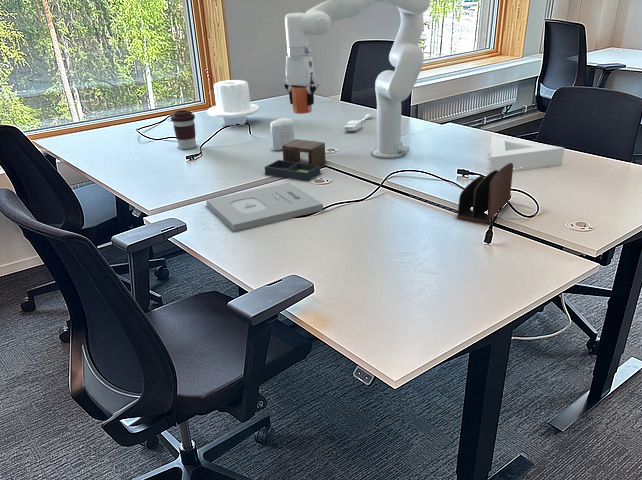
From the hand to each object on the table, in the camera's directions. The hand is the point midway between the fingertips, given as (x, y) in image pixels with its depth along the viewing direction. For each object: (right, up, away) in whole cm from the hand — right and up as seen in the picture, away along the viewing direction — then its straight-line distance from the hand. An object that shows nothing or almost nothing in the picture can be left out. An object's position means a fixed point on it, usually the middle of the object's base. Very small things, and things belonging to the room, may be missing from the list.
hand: (301, 103), depth 214 cm
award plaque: (-11, -43, -26) cm, 51 cm away
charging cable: (+24, +11, +63) cm, 68 cm away
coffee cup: (-52, -6, +39) cm, 65 cm away
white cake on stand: (-37, +15, +74) cm, 84 cm away
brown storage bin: (0, -20, +12) cm, 23 cm away
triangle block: (+77, -22, +4) cm, 80 cm away
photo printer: (-10, -8, +33) cm, 35 cm away
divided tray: (-4, -25, +3) cm, 26 cm away
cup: (0, -2, +1) cm, 3 cm away
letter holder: (+58, -45, -33) cm, 81 cm away
